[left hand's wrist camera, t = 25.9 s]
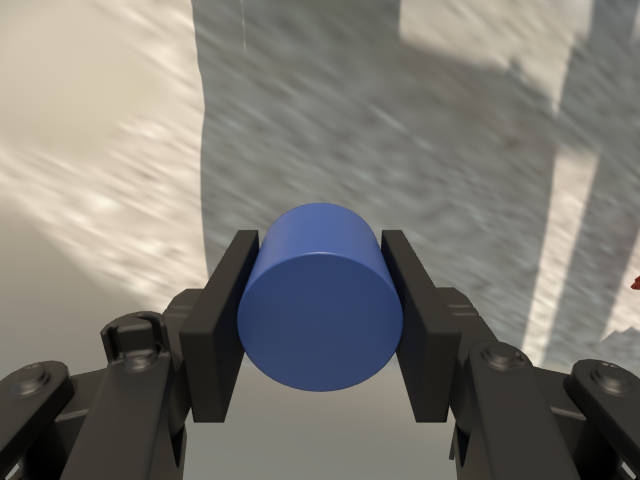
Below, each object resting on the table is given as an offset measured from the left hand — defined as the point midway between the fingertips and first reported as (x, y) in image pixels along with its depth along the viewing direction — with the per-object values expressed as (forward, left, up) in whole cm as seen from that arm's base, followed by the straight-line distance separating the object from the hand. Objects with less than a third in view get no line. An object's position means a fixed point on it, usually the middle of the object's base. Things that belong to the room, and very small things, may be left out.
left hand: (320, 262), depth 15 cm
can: (0, 0, 0) cm, 0 cm away
